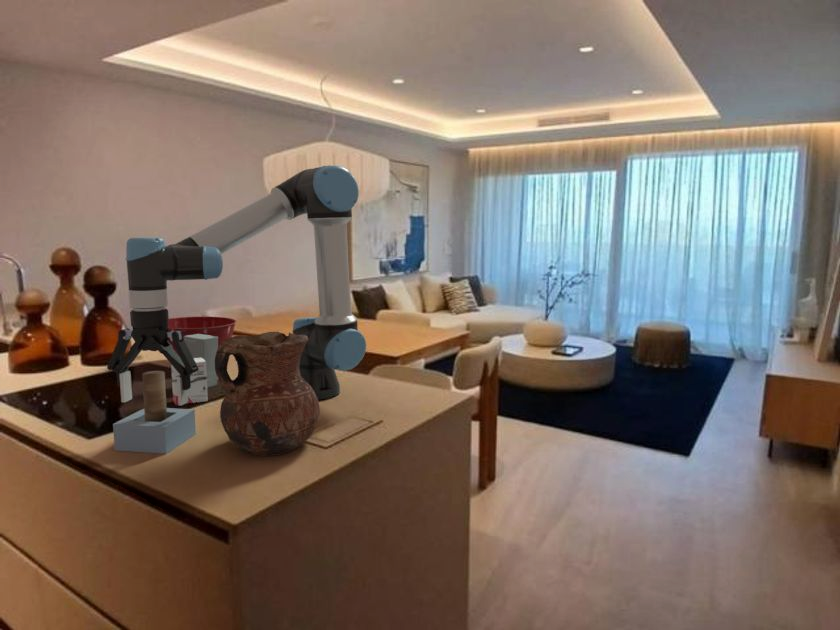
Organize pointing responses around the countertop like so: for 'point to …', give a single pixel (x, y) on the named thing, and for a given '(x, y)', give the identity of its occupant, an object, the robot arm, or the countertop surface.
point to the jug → (266, 393)
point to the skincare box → (204, 353)
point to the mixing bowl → (202, 327)
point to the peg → (154, 396)
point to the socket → (154, 431)
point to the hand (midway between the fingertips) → (154, 402)
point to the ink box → (193, 383)
